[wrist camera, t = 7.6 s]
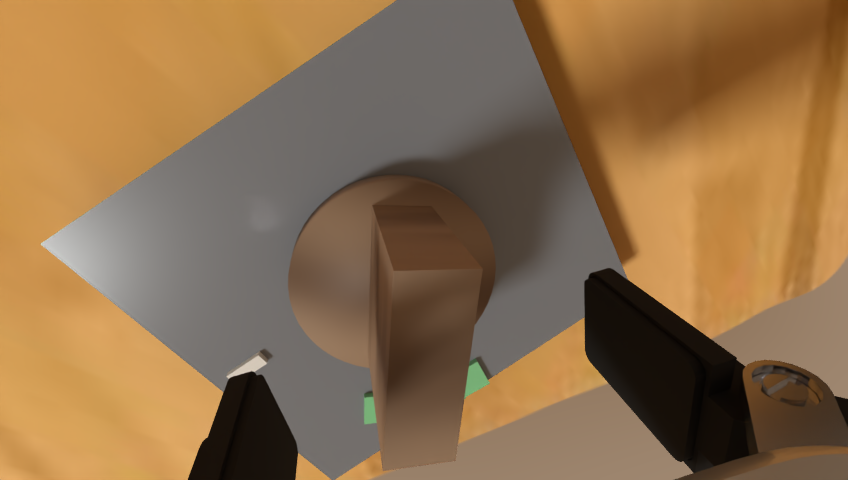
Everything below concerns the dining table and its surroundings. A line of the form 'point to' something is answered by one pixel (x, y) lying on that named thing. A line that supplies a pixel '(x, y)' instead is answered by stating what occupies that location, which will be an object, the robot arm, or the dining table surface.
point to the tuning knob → (398, 303)
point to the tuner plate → (328, 173)
